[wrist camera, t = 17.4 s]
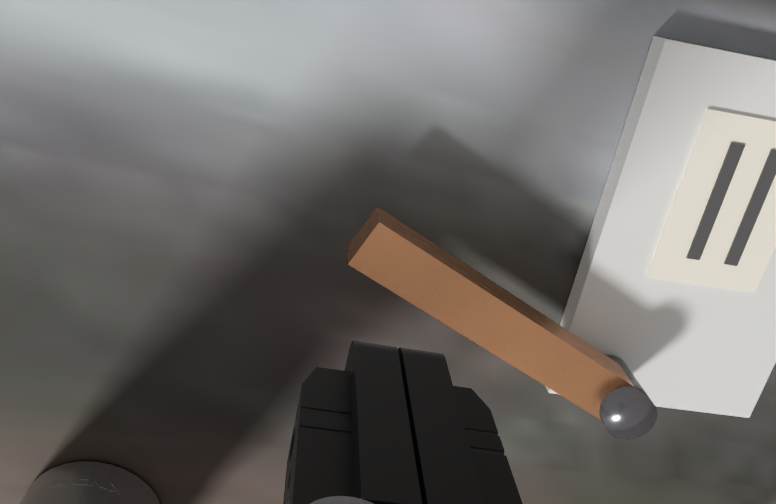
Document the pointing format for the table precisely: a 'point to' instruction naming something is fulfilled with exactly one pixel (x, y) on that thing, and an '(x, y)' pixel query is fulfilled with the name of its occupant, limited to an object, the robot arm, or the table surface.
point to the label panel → (688, 233)
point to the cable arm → (501, 323)
